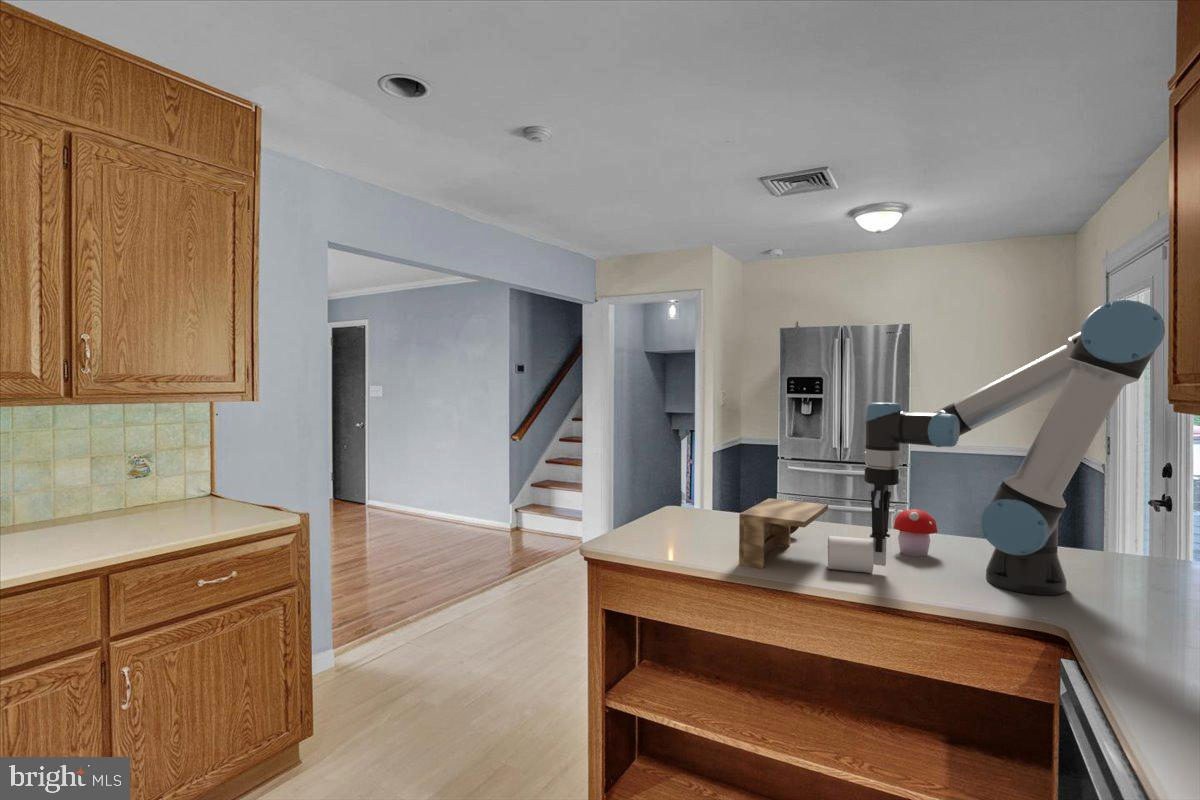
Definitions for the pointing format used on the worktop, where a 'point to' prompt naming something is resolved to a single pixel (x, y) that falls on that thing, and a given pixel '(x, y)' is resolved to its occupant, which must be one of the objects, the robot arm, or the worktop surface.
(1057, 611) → the worktop surface
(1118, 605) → the worktop surface
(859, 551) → the mug
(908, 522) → the mushroom
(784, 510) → the small wooden shelf
